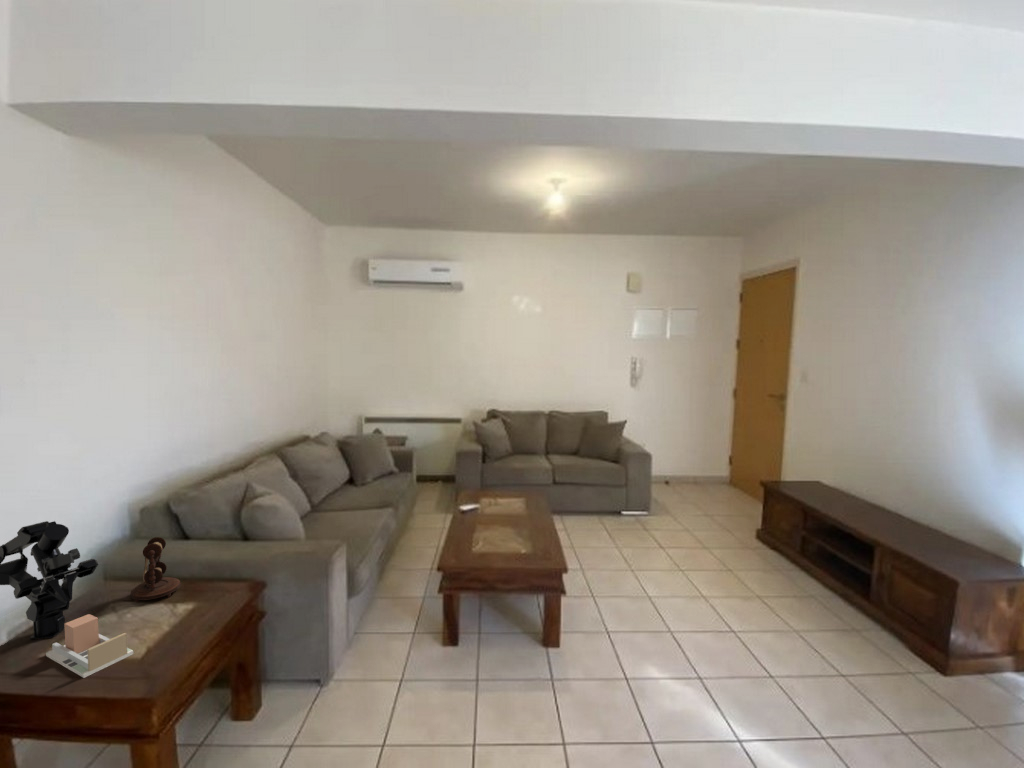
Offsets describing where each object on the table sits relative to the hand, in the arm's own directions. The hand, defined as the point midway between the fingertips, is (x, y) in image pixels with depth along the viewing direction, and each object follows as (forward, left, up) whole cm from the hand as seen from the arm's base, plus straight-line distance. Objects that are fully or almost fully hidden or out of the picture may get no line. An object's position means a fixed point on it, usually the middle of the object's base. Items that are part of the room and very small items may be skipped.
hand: (68, 601), depth 149 cm
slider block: (+6, -4, -12) cm, 14 cm away
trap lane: (+9, -6, -14) cm, 18 cm away
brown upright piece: (+8, +31, -14) cm, 35 cm away
